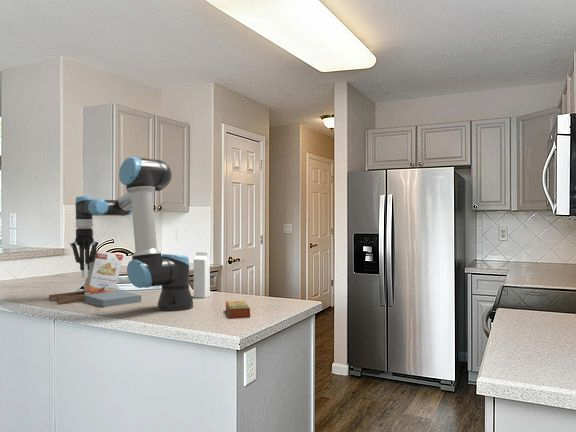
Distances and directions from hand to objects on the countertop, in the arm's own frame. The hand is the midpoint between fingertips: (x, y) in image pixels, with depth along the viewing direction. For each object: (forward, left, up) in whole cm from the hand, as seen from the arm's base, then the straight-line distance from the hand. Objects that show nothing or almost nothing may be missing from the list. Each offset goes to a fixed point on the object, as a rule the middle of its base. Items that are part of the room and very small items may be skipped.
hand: (84, 277), depth 225 cm
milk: (-37, -42, -11) cm, 57 cm away
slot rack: (0, +6, -11) cm, 12 cm away
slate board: (-17, -6, -11) cm, 21 cm away
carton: (-80, -28, -11) cm, 86 cm away
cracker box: (+1, -7, -9) cm, 12 cm away
